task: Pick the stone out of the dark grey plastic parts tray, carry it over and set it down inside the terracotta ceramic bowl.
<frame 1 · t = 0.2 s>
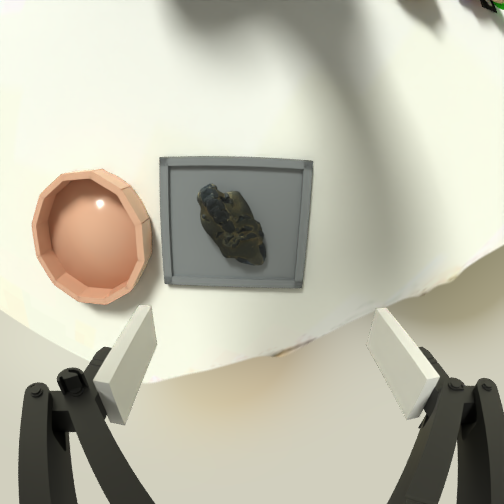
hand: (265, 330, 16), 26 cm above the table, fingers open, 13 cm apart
stone: (234, 223, 41), resting on parts tray
bowl: (93, 233, 41), on the table
parts tray: (233, 222, 41), on the table
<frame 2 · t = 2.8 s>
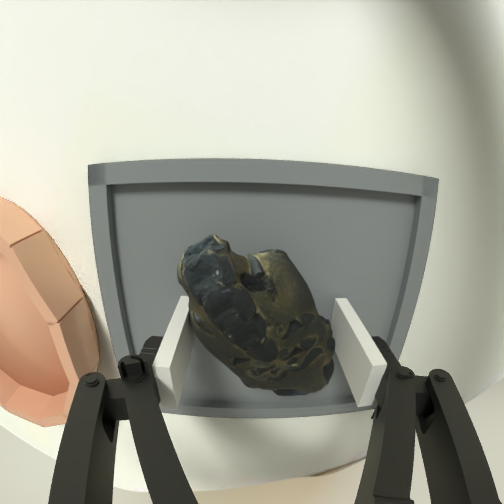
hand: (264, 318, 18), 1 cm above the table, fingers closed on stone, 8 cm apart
stone: (267, 314, 18), resting on parts tray, touching gripper
bowl: (7, 310, 19), on the table
parts tray: (263, 311, 18), on the table
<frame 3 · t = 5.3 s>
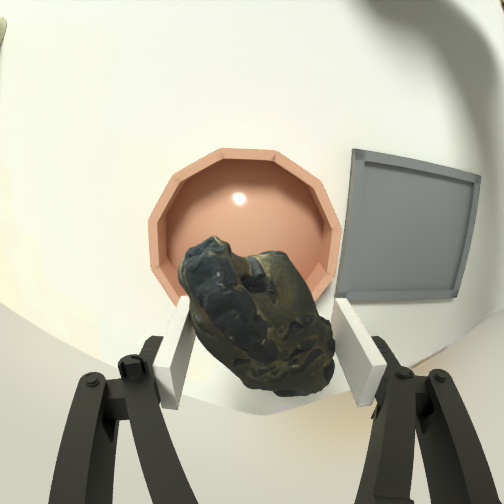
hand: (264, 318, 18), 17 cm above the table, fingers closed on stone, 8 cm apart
stone: (268, 315, 18), point 17 cm above the table, touching gripper
bowl: (244, 237, 34), on the table
parts tray: (414, 231, 34), on the table
when the fingers open (4 cm above the table, at t = 7.9 s): stone drops 3 cm, resting on bowl.
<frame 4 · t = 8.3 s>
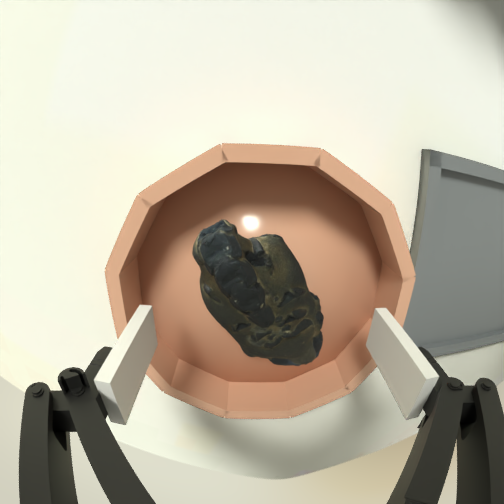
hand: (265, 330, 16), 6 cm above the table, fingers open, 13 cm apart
stone: (266, 291, 21), resting on bowl
bowl: (261, 287, 22), on the table
parts tray: (486, 264, 22), on the table
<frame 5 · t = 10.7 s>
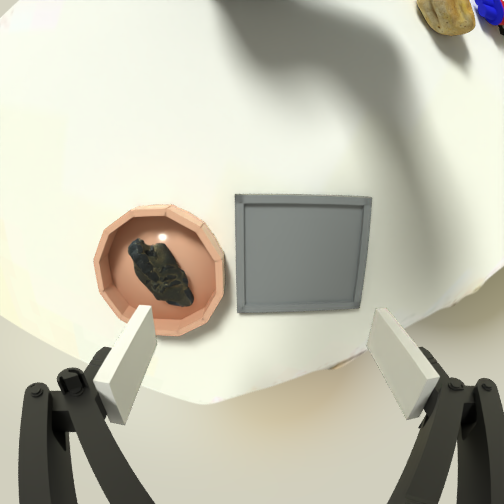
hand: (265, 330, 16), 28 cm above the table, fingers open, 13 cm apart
stone: (165, 269, 45), resting on bowl
bowl: (161, 267, 45), on the table
parts tray: (303, 254, 45), on the table
toy figure: (491, 18, 30), on the table
stone 2: (432, 12, 32), on the table
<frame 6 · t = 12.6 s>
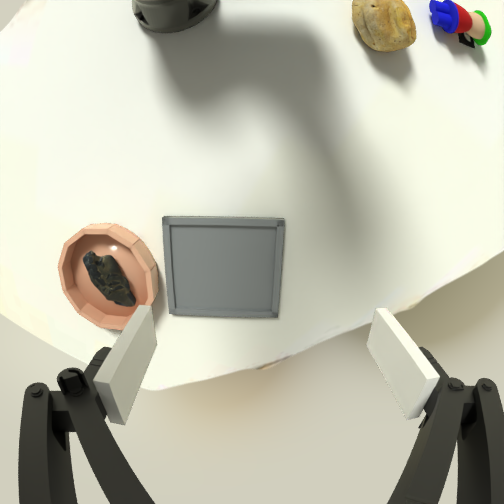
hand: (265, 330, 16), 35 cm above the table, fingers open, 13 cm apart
stone: (114, 275, 52), resting on bowl
bowl: (110, 273, 52), on the table
parts tray: (222, 268, 52), on the table
toy figure: (451, 26, 36), on the table
stone 2: (373, 27, 38), on the table
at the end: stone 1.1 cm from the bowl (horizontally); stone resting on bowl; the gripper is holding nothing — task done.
